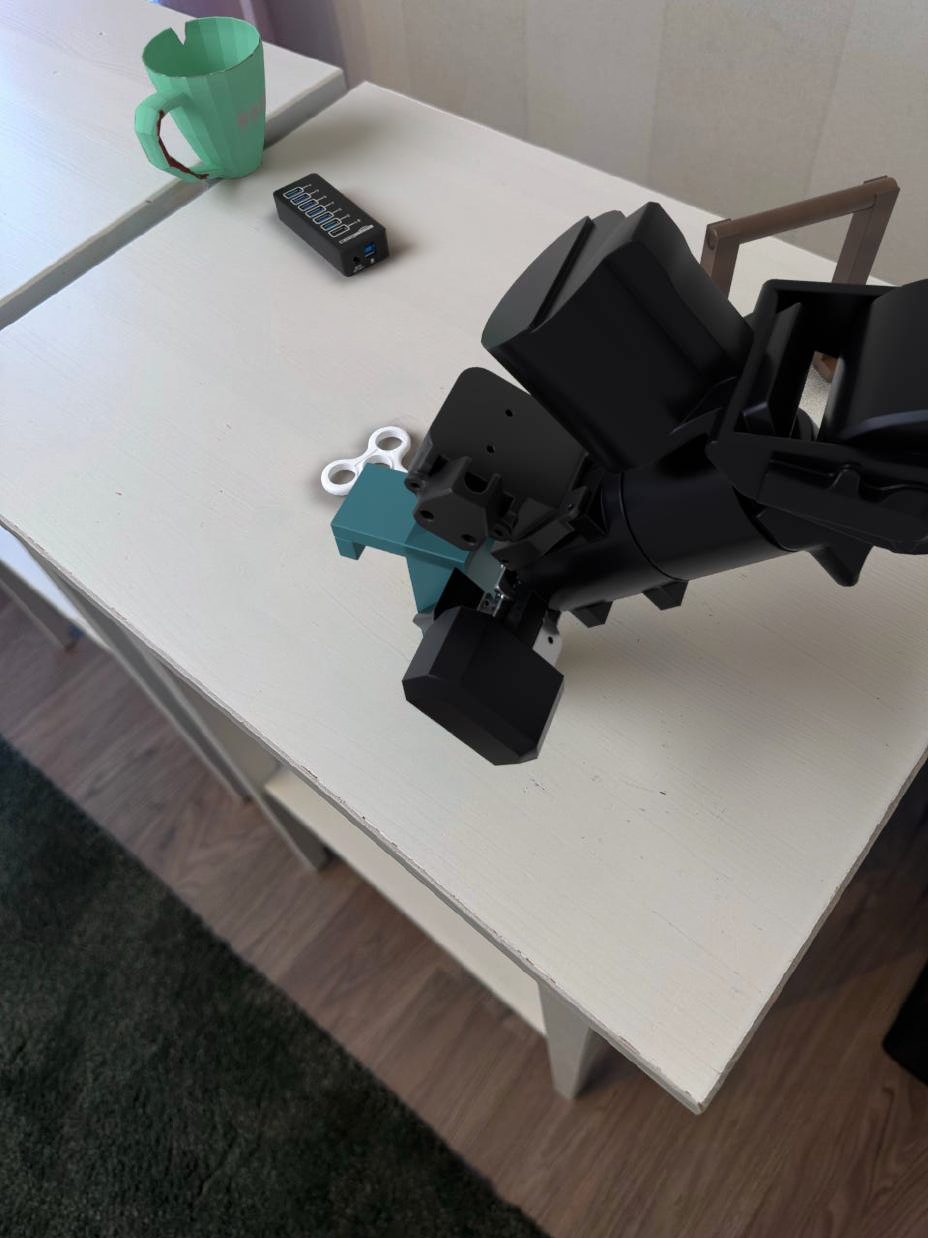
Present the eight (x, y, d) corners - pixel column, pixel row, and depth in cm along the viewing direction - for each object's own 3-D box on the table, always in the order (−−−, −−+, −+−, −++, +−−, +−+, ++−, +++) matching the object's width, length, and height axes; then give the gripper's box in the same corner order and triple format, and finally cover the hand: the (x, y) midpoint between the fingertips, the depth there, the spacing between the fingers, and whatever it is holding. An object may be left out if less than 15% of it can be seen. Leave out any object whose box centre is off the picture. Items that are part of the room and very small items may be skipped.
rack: (846, 377, 62) (914, 196, 51) (693, 423, 61) (729, 248, 50) (816, 341, 65) (875, 159, 53) (668, 384, 63) (697, 208, 52)
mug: (218, 125, 85) (183, 9, 77) (308, 142, 83) (282, 23, 74) (131, 215, 79) (82, 99, 70) (226, 236, 76) (187, 118, 68)
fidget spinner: (392, 425, 63) (391, 417, 62) (455, 474, 60) (454, 466, 59) (314, 481, 60) (311, 473, 60) (375, 534, 58) (373, 526, 57)
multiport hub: (320, 195, 78) (314, 170, 76) (391, 254, 73) (387, 228, 71) (277, 217, 77) (270, 191, 75) (346, 277, 72) (341, 252, 70)
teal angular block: (506, 641, 52) (497, 495, 41) (481, 698, 50) (464, 562, 39) (402, 608, 54) (366, 461, 43) (374, 663, 52) (329, 523, 41)
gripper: (611, 204, 35) (396, 362, 48) (423, 569, 27) (218, 649, 39) (770, 396, 40) (537, 496, 52) (655, 762, 31) (407, 779, 43)
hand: (436, 590), depth 47 cm, fingers closed on teal angular block, 4 cm apart
